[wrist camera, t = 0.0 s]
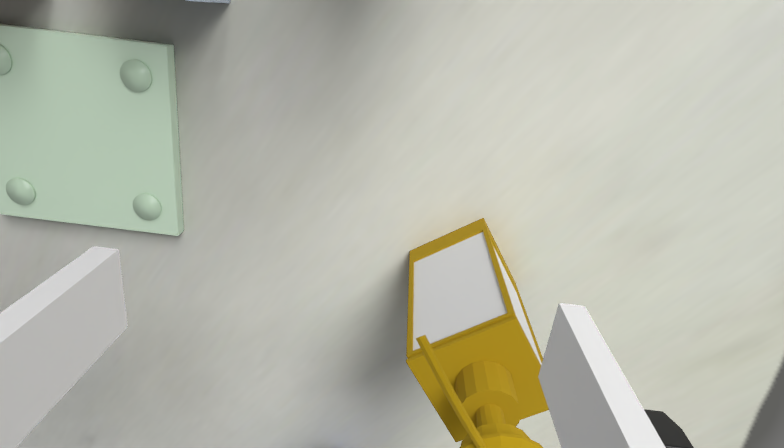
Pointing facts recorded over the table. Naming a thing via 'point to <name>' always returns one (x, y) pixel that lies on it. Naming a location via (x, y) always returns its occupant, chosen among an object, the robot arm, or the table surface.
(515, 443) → the soap bottle
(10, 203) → the baseplate
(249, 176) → the table surface
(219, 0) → the blue-grey cube
